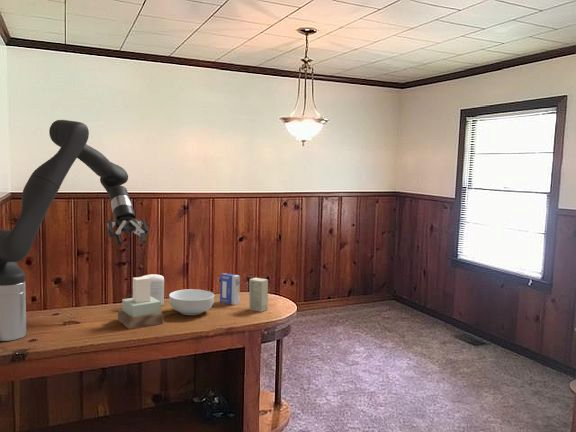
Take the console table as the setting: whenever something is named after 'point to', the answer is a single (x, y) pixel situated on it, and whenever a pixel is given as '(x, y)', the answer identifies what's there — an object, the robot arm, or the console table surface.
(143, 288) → the cream block
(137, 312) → the tower top
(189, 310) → the cereal bowl
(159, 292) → the photo printer
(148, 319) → the tower base
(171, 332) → the console table surface
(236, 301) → the walkman
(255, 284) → the skincare box
